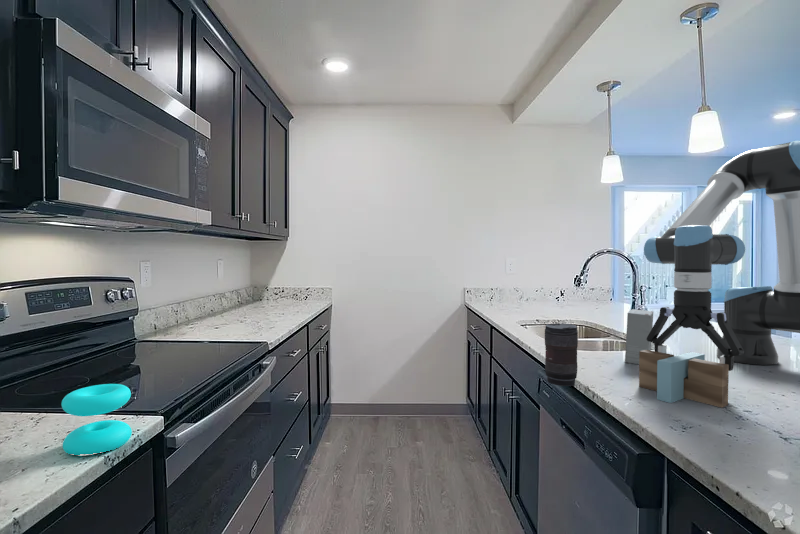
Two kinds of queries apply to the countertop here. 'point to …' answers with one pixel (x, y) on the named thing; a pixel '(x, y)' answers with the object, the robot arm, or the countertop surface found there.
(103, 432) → the donuts
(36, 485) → the countertop surface
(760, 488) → the countertop surface
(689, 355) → the light blue notched block
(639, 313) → the skincare box
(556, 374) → the camera lens
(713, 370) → the walnut notched block
